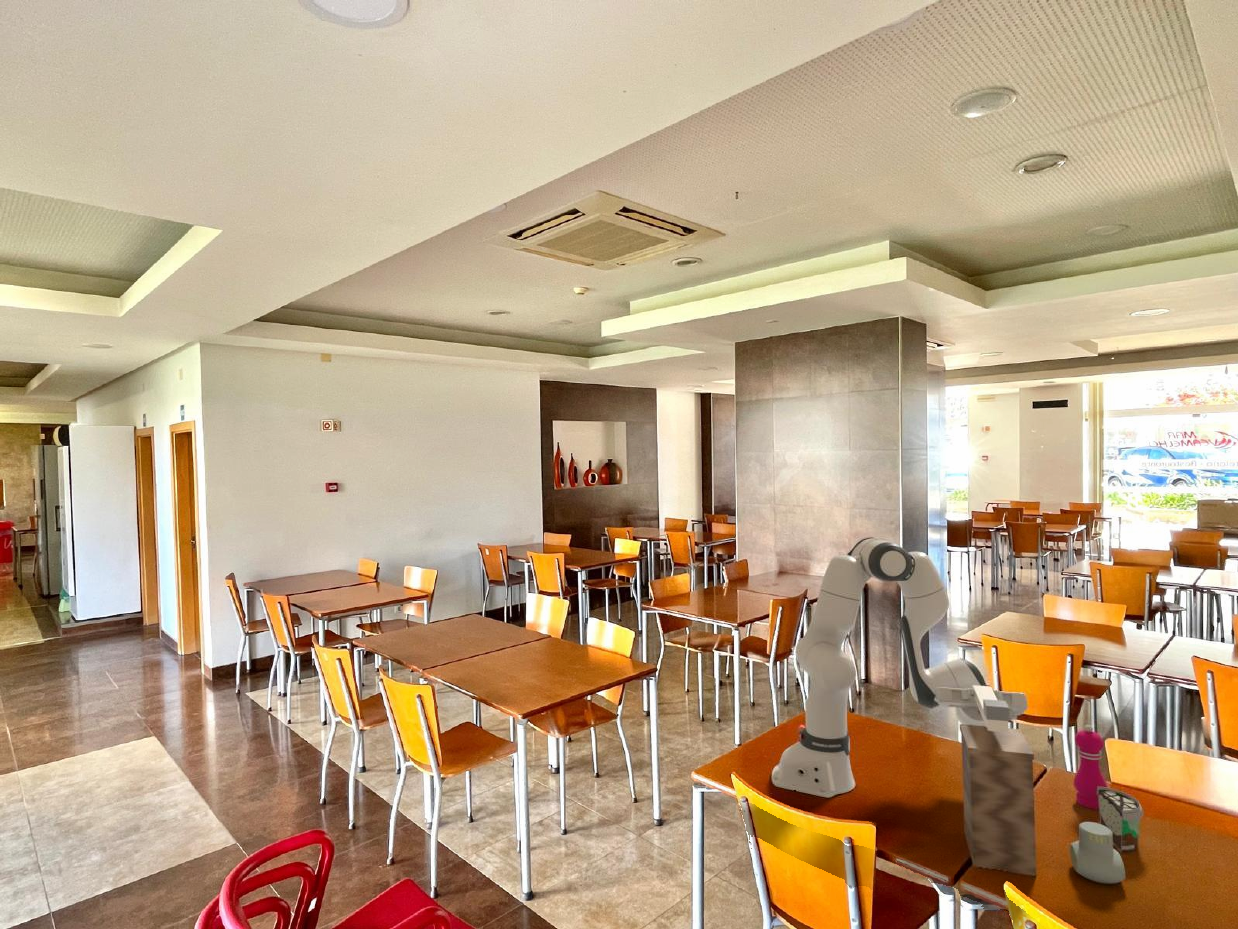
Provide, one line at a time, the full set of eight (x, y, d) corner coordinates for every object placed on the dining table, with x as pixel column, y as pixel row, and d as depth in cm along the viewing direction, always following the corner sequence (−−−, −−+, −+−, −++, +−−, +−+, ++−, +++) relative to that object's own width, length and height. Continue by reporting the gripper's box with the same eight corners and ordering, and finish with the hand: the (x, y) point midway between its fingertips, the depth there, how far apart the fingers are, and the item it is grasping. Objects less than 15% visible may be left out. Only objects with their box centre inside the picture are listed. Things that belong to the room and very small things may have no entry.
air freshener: (1068, 857, 151) (1066, 812, 151) (1113, 865, 148) (1111, 819, 148) (1080, 886, 141) (1078, 838, 141) (1128, 895, 138) (1126, 845, 138)
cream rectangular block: (986, 730, 149) (986, 705, 149) (972, 695, 170) (971, 673, 170) (1009, 732, 148) (1008, 707, 148) (991, 696, 168) (991, 674, 168)
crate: (972, 866, 149) (967, 747, 149) (963, 833, 162) (959, 724, 162) (1038, 876, 145) (1034, 754, 145) (1023, 841, 158) (1019, 729, 158)
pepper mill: (1105, 799, 175) (1102, 722, 175) (1111, 813, 169) (1109, 732, 169) (1071, 794, 178) (1069, 718, 178) (1077, 807, 172) (1074, 728, 172)
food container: (1156, 859, 149) (1155, 813, 149) (1125, 856, 151) (1123, 811, 151) (1126, 829, 161) (1125, 787, 161) (1097, 827, 163) (1096, 785, 163)
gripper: (932, 688, 182) (936, 676, 171) (1019, 695, 175) (1029, 682, 164) (934, 713, 179) (938, 702, 168) (1023, 720, 172) (1033, 710, 161)
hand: (983, 692), depth 166 cm, fingers closed on cream rectangular block, 4 cm apart
